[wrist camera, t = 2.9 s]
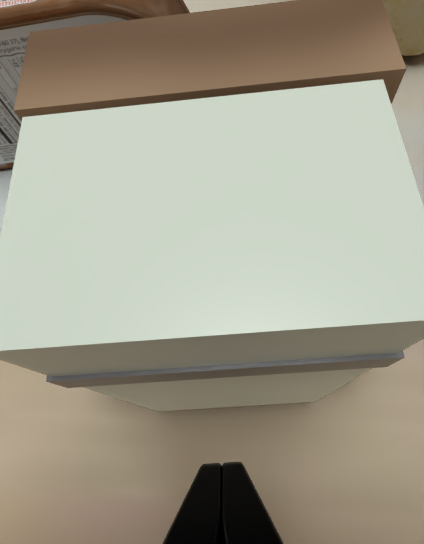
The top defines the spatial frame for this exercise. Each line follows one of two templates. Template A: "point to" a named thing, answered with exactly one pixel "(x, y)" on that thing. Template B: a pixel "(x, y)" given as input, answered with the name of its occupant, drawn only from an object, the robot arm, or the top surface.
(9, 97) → the tin
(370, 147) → the pale green box
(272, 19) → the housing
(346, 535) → the top surface
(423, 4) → the food model
